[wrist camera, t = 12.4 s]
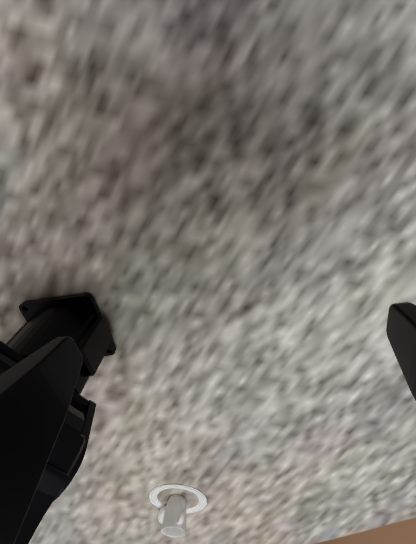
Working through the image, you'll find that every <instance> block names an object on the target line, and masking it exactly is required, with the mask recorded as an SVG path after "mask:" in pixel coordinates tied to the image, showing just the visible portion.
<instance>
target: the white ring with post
mask: <svg viewBox="0 0 416 544" xmlns="http://www.w3.org/2000/svg"><path fill="white" fill-rule="evenodd" d="M168 488H180V489H185V490H188V491H191V492H193V493H194V494H195V495H197V497H198V498H199V503H198V504H197V505H196V506H195V507H193V508H189V509H187V508H186V500H185V498H184V497H183V496H181V495H172V496H170V498H169V500H168V502H167V505H163V504H161V503H160V502H159V501H158V499H157V494H158V493H159V492H160V491H162V490H164V489H168ZM149 498H150V501H151V502H152V503H153V504H154V505H155V506H156V507H158V508H160V510H159V512H158V520H159V522H160V523H161V524H162V527H161V532H162V534H164V535H165V536H168V537H173V538H179V537H183V536H184V535H185V533H186V517H187V514H188V513H194V512H198V511H200V510H202V509H203V508H204V507H205V506H206V504H207V499H206V497H205V495H204V494H203V493H201V492H200V491H198V490H197V489H194V488H192V487H189V486H185V485H179V484H167V485H161V486H158V487H156V488H154V489H153V490H152V491H151V492H150V494H149Z"/></svg>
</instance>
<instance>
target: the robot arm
mask: <svg viewBox="0 0 416 544" xmlns="http://www.w3.org/2000/svg"><path fill="white" fill-rule="evenodd" d="M86 299H88V300H89V301H87V300H86ZM26 307H27V308H26ZM19 309H20V311H21V312H22V314H23V316H24V317H25V319H26V321H27V322H26V323H25V324H24V325H23V326H22V327H21V328H20V329H19V330H18V332H17V333H16V334H15V335H14V336H13V337H12V338H11V339H10V340H9V341H8V342H7V343H6V344H4V343H3V342H1V341H0V544H28V543H29V541H30V539H31V538H32V536H33V534H34V532H35V530H36V528H37V527H38V525H39V523H40V521H41V520H42V518H43V516H44V514H45V513H46V511H47V510H48V508H49V507H50V505H51V504H52V502H53V501H54V500H55V499H57V498H58V497H59V496H60V495H61V493H62V492H63V491H64V490H65V489H66V488H67V486H68V485H69V483H70V482H71V481H72V479H73V477H74V476H75V474H76V473H77V471H78V469H79V467H80V465H81V463H82V460H83V458H84V455H85V452H86V448H87V444H88V439H89V435H90V430H91V426H92V421H93V416H94V412H95V407H96V404H95V403H94V402H92V401H91V400H89V401H88V400H87V399H85V398H84V397H82V396H81V395H80V394H81V392H82V390H83V388H84V386H85V384H86V382H87V380H88V378H89V376H93V375H94V374H95V373H96V371H97V369H98V367H99V365H100V363H101V361H102V359H103V357H104V356H108V355H113V354H114V353H115V351H116V347H115V344H114V342H113V340H112V336H111V334H110V331H109V329H108V327H107V325H106V323H105V320H104V318H103V317H102V315H101V313H100V311H99V309H98V306H97V304H96V302H95V300H94V298H93V296H92V295H91V294H88V293H84V294H77V295H69V296H61V297H54V298H46V299H39V300H31V301H25V302H23V303H22V304H21V305H20V306H19ZM386 331H387V336H388V339H389V341H390V344H391V346H392V349H393V351H394V353H395V356H396V358H397V360H398V363H399V365H400V367H401V370H402V372H403V374H404V377H405V379H406V381H407V384H408V386H409V388H410V390H411V393H412V395H413V396H414V398H415V400H416V305H414V304H412V303H408V302H406V303H396V304H392V305H391V306H390V308H389V313H388V320H387V329H386ZM109 349H110V350H109Z"/></svg>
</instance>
